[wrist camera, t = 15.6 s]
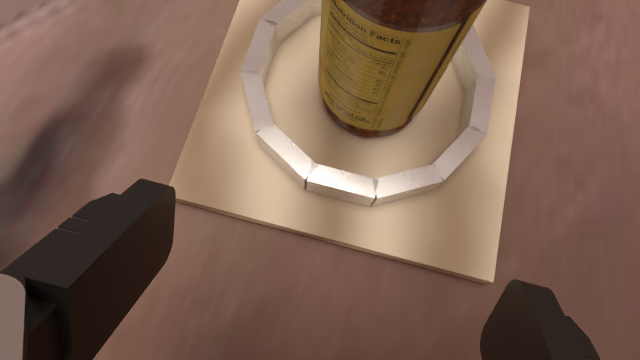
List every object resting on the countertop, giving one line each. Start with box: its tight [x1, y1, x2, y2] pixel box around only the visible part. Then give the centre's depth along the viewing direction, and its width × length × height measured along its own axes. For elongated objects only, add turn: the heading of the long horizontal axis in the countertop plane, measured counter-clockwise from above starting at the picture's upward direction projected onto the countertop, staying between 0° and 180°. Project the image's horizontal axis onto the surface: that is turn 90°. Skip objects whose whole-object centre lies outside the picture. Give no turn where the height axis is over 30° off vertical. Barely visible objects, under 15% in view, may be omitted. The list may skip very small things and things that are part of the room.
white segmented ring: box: [241, 0, 496, 207], centre depth 24 cm, size 14×14×3 cm
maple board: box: [169, 0, 530, 284], centre depth 26 cm, size 18×18×1 cm
